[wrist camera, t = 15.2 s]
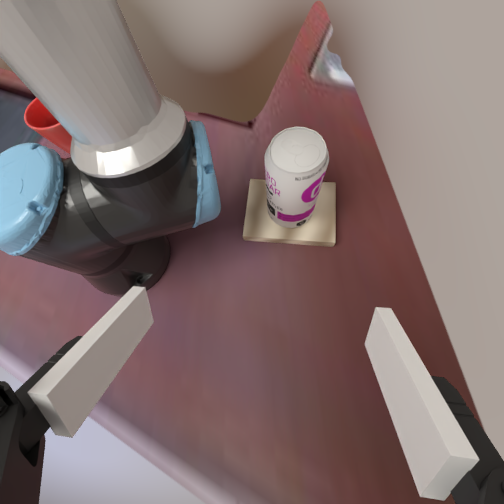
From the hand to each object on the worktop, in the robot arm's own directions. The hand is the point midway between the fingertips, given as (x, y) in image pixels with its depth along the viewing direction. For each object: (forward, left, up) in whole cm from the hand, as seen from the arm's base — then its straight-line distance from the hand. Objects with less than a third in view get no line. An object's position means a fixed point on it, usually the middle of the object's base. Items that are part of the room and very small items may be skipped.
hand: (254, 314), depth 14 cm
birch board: (+2, +21, -27) cm, 34 cm away
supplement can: (+2, +21, -25) cm, 32 cm away
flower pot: (-46, +36, -27) cm, 64 cm away
